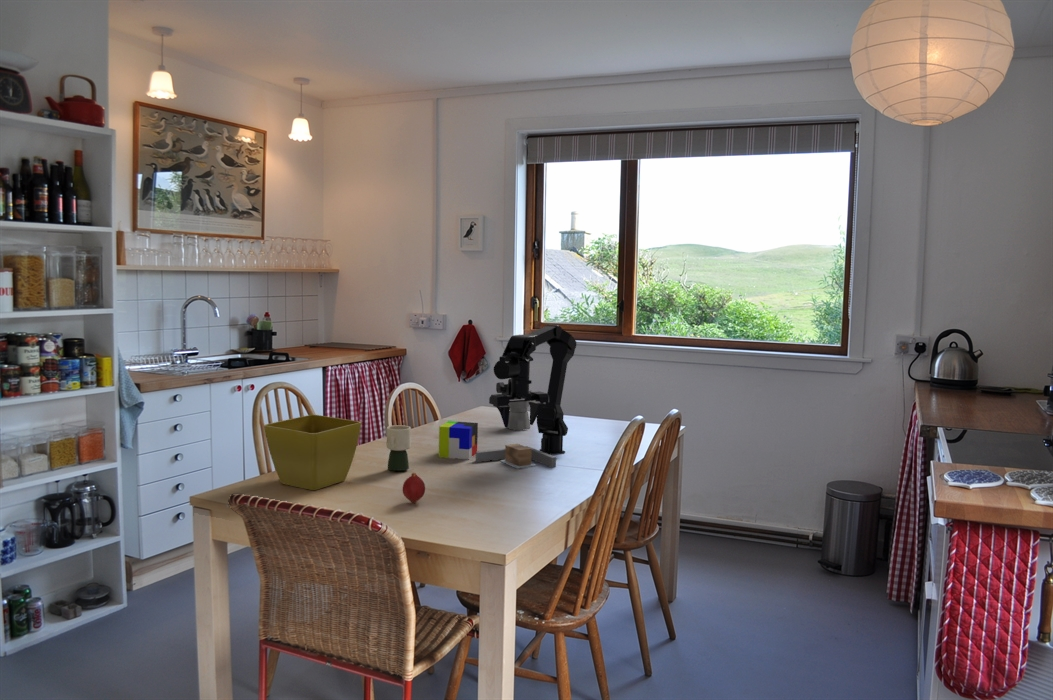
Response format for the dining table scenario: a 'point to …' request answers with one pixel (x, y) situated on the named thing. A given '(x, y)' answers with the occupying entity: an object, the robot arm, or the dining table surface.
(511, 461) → the walnut block
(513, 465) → the mat
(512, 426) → the coffeepot
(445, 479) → the dining table surface
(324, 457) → the flower pot
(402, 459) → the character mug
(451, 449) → the puzzle toy
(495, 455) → the grey angle bracket
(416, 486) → the onion
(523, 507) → the dining table surface
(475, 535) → the dining table surface
